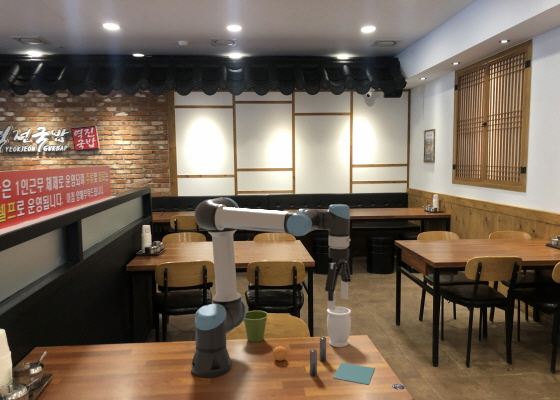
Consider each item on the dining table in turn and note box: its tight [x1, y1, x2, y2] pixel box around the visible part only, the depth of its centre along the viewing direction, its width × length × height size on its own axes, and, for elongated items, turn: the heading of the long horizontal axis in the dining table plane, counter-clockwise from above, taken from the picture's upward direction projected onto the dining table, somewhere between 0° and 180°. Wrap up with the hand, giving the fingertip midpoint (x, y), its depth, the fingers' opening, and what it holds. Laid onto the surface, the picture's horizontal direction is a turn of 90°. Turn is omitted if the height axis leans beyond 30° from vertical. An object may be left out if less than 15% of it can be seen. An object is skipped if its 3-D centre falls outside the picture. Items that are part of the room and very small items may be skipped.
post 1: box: [309, 349, 318, 377], centre depth 158 cm, size 3×3×9 cm
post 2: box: [319, 336, 327, 362], centre depth 170 cm, size 3×3×9 cm
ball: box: [272, 345, 288, 362], centre depth 170 cm, size 6×6×6 cm
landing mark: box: [332, 362, 375, 386], centre depth 159 cm, size 13×13×1 cm
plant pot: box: [243, 310, 269, 343], centre depth 191 cm, size 12×12×11 cm
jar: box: [326, 306, 352, 348], centre depth 185 cm, size 11×10×15 cm
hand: (338, 303), depth 157 cm, fingers open, 13 cm apart
